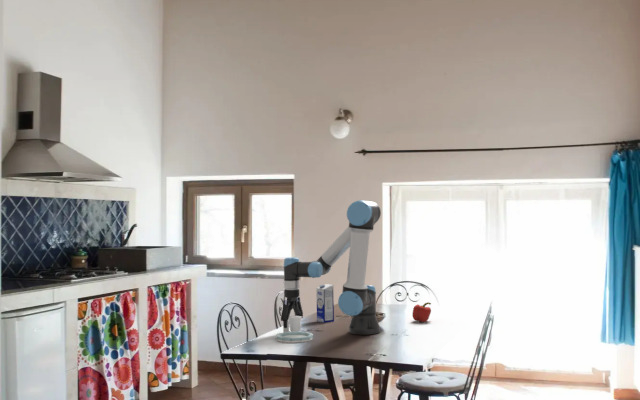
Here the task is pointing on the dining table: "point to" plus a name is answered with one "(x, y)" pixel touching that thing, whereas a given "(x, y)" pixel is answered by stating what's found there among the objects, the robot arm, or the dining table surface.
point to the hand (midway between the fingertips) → (292, 332)
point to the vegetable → (421, 312)
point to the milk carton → (325, 303)
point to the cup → (294, 323)
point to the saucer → (294, 337)
